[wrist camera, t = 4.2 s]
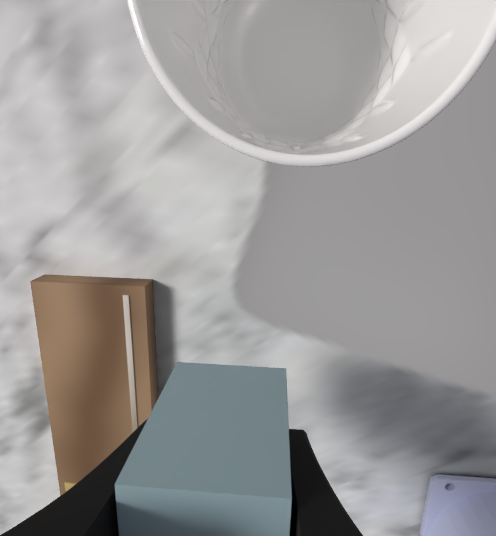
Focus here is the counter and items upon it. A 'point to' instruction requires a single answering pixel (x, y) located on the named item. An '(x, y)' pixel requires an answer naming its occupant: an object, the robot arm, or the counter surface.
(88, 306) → the walnut board
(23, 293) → the counter surface
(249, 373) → the block
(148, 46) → the white cup
